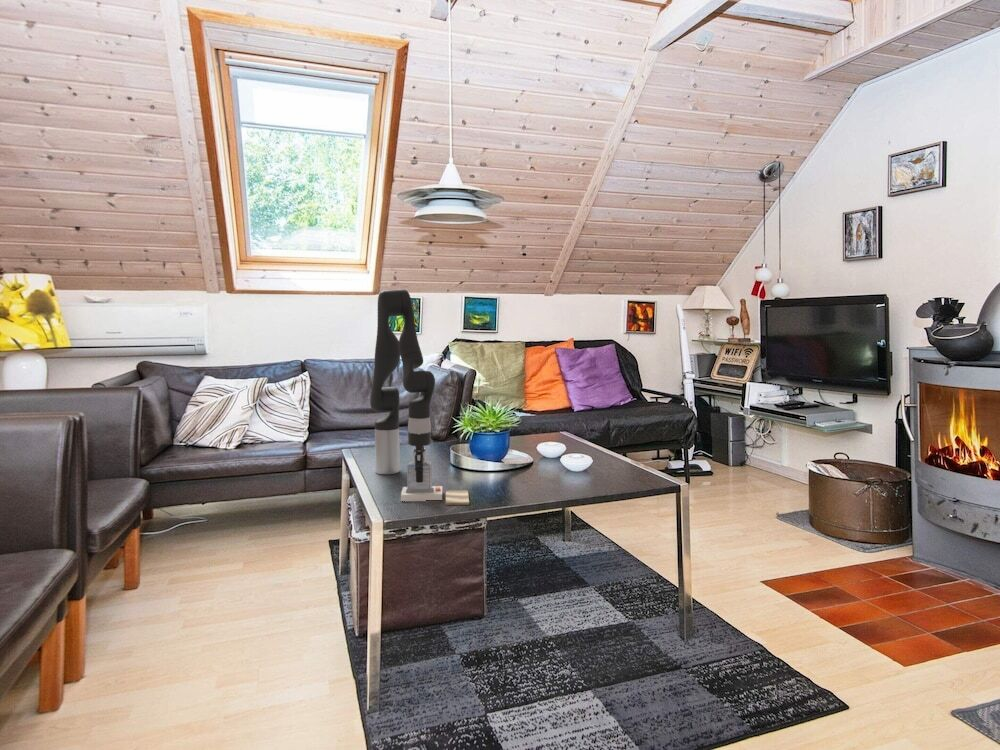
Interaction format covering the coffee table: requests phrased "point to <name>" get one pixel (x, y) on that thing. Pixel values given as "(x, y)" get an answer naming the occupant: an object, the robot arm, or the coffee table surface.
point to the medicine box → (426, 477)
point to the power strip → (422, 494)
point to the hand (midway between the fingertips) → (419, 479)
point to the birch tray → (457, 497)
